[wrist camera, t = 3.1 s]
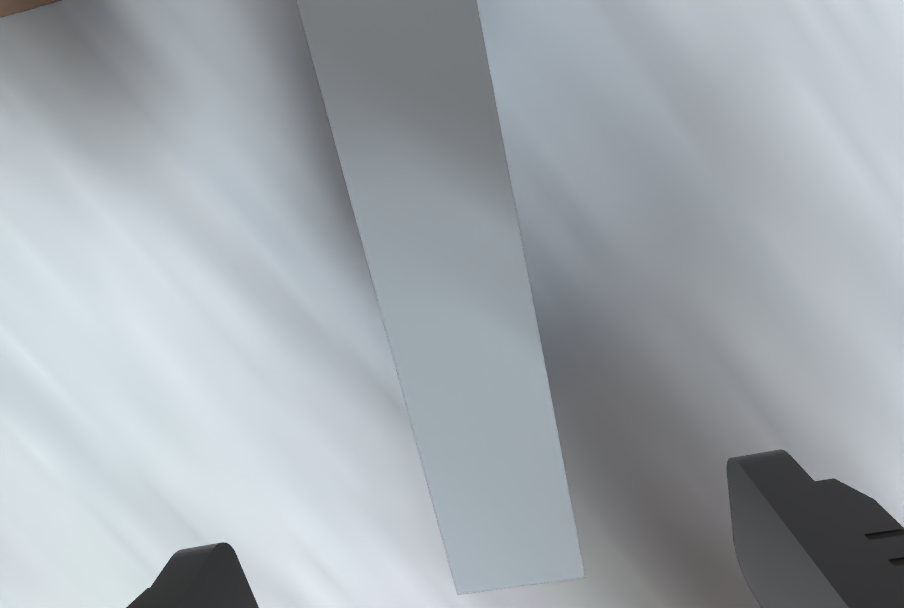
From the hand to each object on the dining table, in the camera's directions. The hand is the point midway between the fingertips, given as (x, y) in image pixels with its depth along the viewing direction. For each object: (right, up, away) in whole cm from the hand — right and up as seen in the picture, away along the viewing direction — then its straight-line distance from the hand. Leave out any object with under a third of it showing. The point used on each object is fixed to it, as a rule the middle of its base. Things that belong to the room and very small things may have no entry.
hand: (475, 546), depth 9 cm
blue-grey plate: (0, +7, +8) cm, 10 cm away
